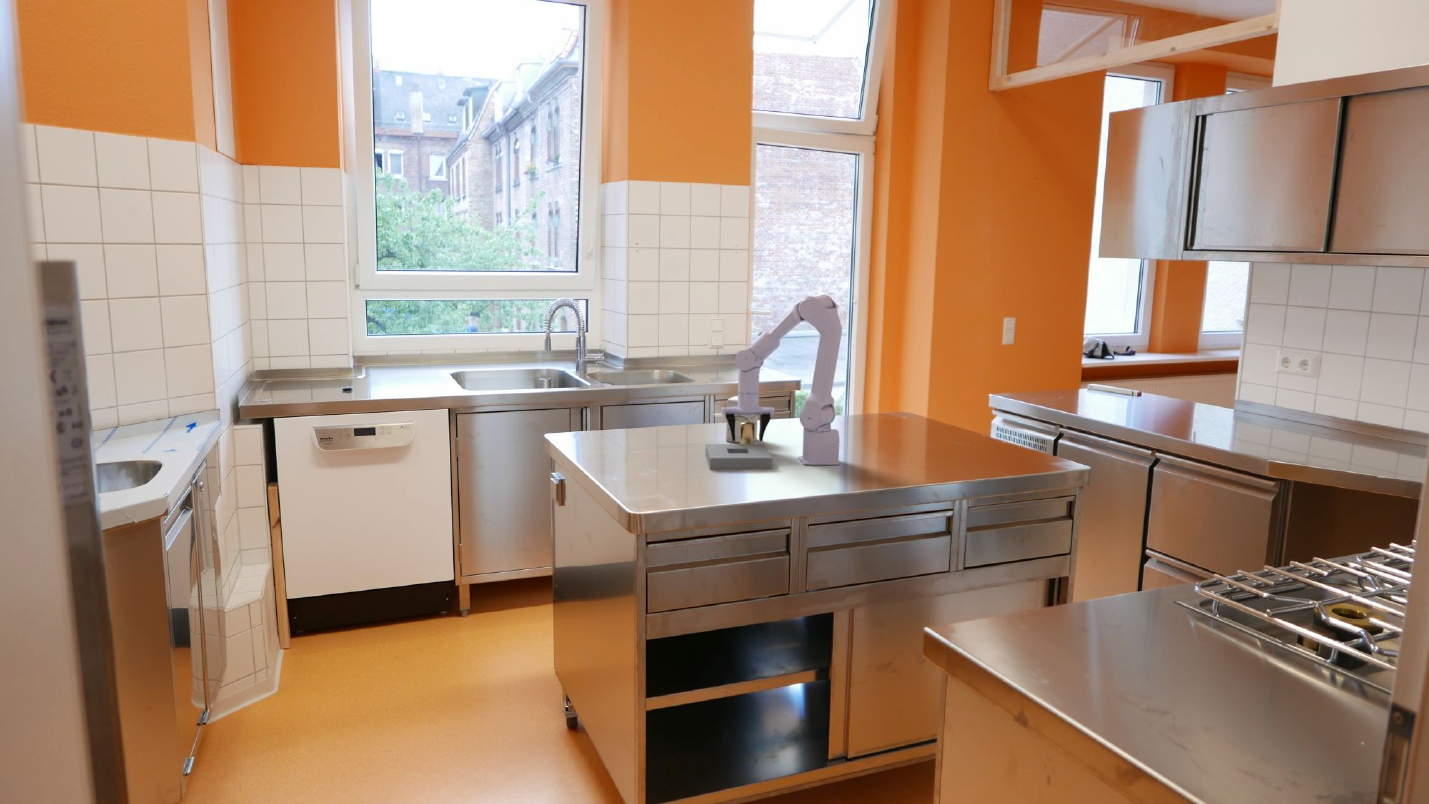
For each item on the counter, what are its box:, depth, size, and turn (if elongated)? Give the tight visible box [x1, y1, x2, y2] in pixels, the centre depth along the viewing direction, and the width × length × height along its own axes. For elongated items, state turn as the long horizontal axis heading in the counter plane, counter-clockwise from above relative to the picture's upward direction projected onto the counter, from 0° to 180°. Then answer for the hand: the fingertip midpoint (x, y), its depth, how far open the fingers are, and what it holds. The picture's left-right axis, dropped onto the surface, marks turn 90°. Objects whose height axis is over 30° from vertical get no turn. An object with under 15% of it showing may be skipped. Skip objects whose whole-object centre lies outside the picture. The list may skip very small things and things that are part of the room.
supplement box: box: [725, 395, 759, 443], centre depth 265 cm, size 7×7×13 cm
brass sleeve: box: [739, 421, 755, 444], centre depth 253 cm, size 4×4×8 cm
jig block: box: [704, 443, 773, 471], centre depth 240 cm, size 16×16×3 cm
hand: (747, 440), depth 253 cm, fingers open, 7 cm apart
